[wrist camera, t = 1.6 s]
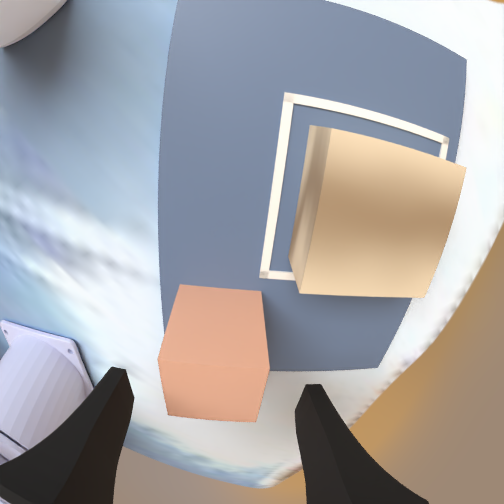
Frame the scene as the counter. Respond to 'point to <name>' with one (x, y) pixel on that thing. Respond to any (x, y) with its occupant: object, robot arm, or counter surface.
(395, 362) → the counter surface
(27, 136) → the counter surface
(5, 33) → the eye dropper bottle
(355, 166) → the base block
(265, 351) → the top block
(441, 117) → the board
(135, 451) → the counter surface
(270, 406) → the counter surface
